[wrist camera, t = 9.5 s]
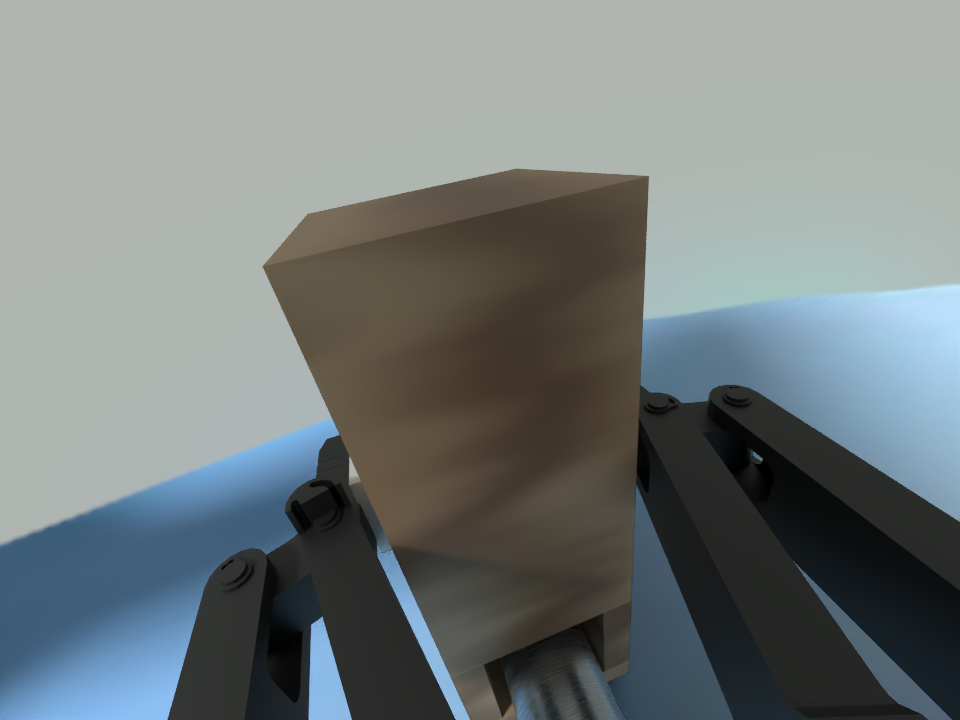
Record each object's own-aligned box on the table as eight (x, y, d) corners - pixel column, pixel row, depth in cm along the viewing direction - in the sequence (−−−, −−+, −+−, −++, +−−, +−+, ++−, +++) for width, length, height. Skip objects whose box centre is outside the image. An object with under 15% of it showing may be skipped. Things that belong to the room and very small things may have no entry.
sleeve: (480, 741, 14) (262, 266, 5) (446, 584, 19) (307, 213, 10) (628, 672, 15) (648, 176, 6) (558, 541, 20) (516, 169, 11)
